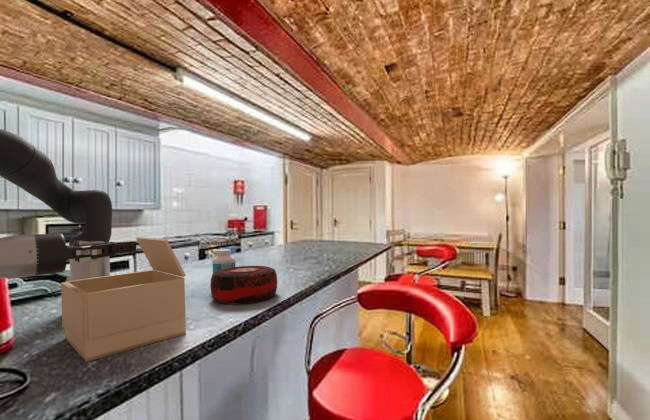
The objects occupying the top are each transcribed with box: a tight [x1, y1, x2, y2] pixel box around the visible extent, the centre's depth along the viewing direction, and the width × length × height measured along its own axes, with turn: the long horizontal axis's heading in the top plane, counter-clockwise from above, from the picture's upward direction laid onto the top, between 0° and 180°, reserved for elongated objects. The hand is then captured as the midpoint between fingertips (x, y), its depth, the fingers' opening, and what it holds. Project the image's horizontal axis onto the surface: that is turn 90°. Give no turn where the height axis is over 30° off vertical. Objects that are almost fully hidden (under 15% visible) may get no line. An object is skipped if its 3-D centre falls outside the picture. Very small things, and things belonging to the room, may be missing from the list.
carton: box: [60, 269, 187, 363], centre depth 74 cm, size 18×19×12 cm
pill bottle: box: [212, 248, 236, 274], centre depth 116 cm, size 8×7×14 cm
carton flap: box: [135, 236, 187, 278], centre depth 79 cm, size 9×17×1 cm
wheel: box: [210, 265, 278, 305], centre depth 106 cm, size 20×8×20 cm
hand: (134, 246), depth 75 cm, fingers closed
